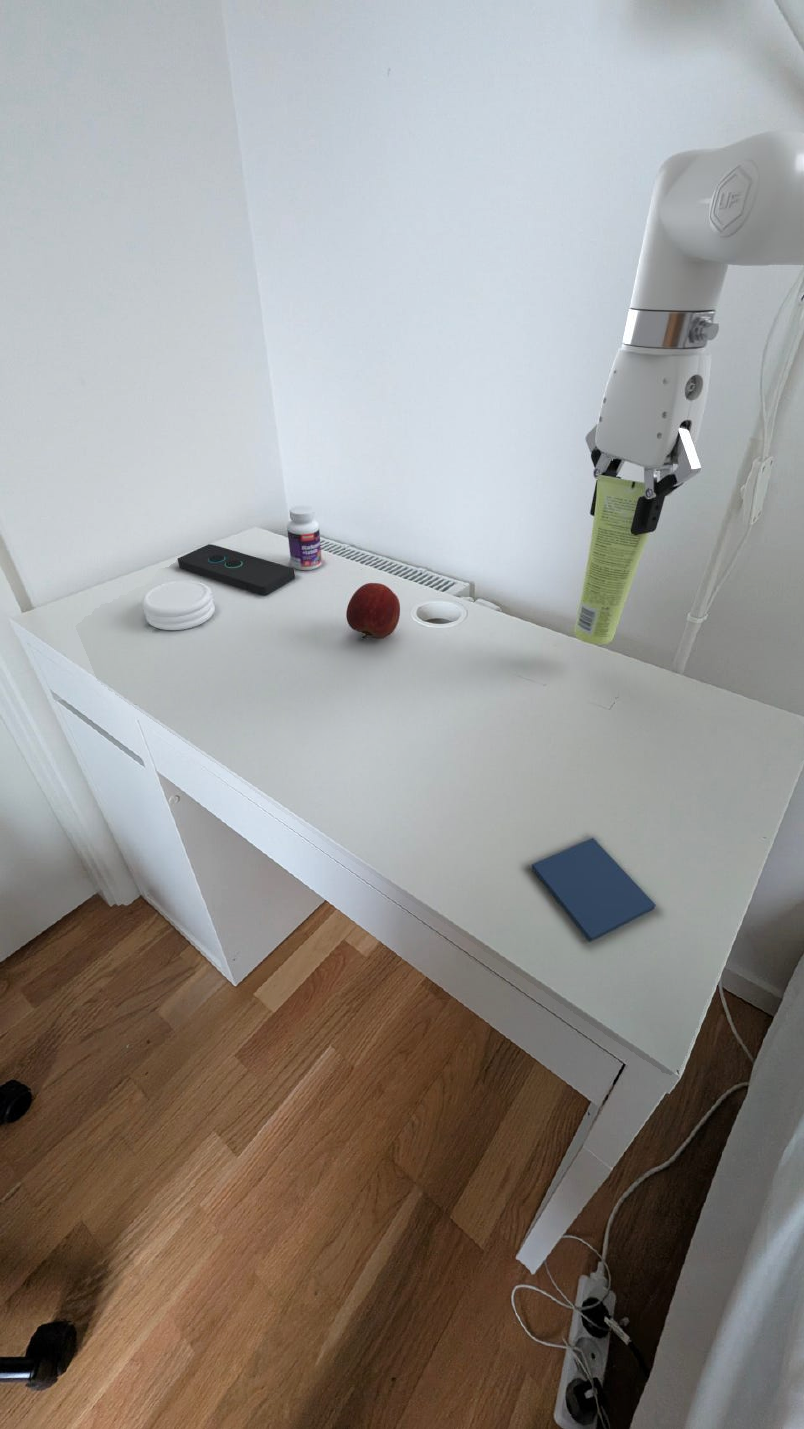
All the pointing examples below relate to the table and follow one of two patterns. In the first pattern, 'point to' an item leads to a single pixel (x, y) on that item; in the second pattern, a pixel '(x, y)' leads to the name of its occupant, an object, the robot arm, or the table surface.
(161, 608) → the coaster
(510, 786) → the table surface
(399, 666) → the table surface
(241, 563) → the smart home device
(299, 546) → the pill bottle
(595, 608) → the tube
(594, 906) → the mat
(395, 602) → the apple
